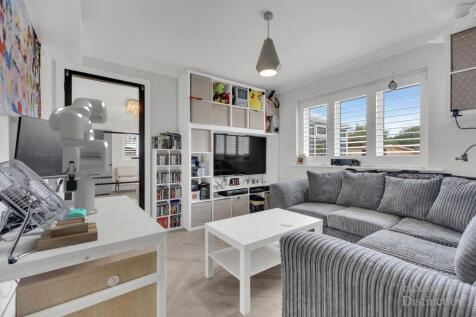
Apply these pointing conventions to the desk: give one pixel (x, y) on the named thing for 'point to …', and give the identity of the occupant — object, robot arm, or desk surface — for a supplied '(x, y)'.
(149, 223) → the desk surface
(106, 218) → the desk surface
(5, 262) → the desk surface
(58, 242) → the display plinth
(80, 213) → the decorative dice
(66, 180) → the sage block
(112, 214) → the desk surface
